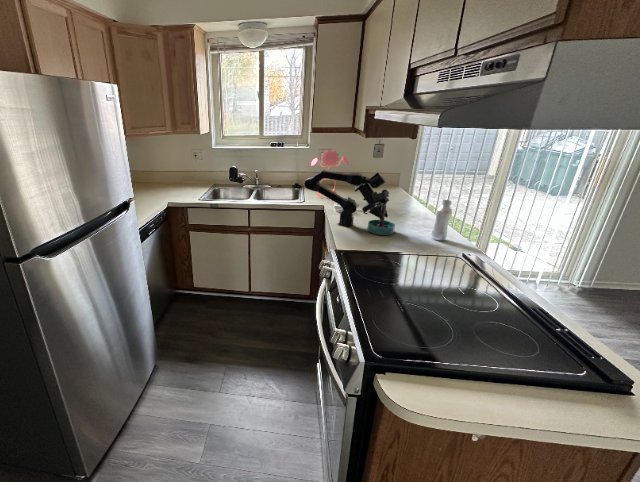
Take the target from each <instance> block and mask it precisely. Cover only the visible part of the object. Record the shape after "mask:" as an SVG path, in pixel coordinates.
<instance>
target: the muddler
mask: <svg viewBox="0 0 640 482" xmlns="http://www.w3.org/2000/svg"><path fill="white" fill-rule="evenodd" d="M386 211H387V204H386V205H382V208H381V214H382V216H383V218H384V219H380V218H379V220H380V221H379V224H378V225H377V227H383V228H384V227H385V226H384V225H383V224H384V220H385V218H386V217H385V212H386Z"/></svg>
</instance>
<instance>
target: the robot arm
mask: <svg viewBox="0 0 640 482" xmlns="http://www.w3.org/2000/svg"><path fill="white" fill-rule="evenodd" d="M324 179H325V180H328V179H330V180H331V179H332V180H331V181H333V180H334V181H338V182H345V183H347V184H350V185H352V186H355V189H354V192H355V193H358V192H359V193H360V194H361V196H362V197H363V198H362V200H363V201H365V202H366V205H364V206H363V207H361V208H362V209H361V211H362V212H363V213H364V214H365V213H369V214H371V215H373V216H375V217H377V218H378V219H379V220H380V219H384V220H385V218H386V219H387V218H388V217H389V215H388V211H387V210H386V212H385V218H383V216H382V214H381V208H382V205H386V206H387V204H388V202H390V198H389V197H390V195H389V194H390V191H389V190H387V189H383V190H381V192H377V191H374V190H373V189H378V188H379V187H381V186H382V185H384V184H385V183H386V180H385V178H384V177H383V175H381V173H379V172H378V171H376V172H375V173H374V174H373V175H371V176H370V177H368V176H364V175H363V174H362V173H360V172H355V173H354V172H353V173H344V172H338V171H337V172H335V171H329V170H325V169H321V171H319V172H318V173H317V174H315V175H314V176H310V177H307V179H305V181H304V187H305V188H306V189H307V190H309V191H312V192H316V193H317V192H319V193H321V194H322V195H321V196H324V197H326V198H327V199H329V200H330V201H331V202H334V203H336V204H337V205H339V207H341V211H340V214H339V222H338V223H337V224H338V225H339V226H343V227H347V228H349V227H351V226H352V225H354V220H355V219H354V213H356V212H357V208H358V203H357V201H355V199H353V198H351V197H350V196H348V197H347V198H345V197H343V196H341V195H339V194H338V193H337V192H336V193H337V194H336V193H334V192H333V191H332V190H331V189H329V188H327V187H325V186H324V185H322V183H321V180H324Z"/></svg>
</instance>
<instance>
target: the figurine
mask: <svg viewBox="0 0 640 482" xmlns="http://www.w3.org/2000/svg"><path fill="white" fill-rule="evenodd" d="M339 156H340V155H339V153H337V151H336V149H333V150H330V149H328V150H327V151H326V150H324V151H323V155H322V156H321V158H320V159H321V161H319V159H318V157H315V158H314V159H312V161H311V163H310V164H311V165H310V166H311V167H314V166H315V165H316V164H317V162H318V164H319V165H320V167H321V168H324V167H325V168H327V167H328V168H327V170H329V169H330V168H333V167H339V166H340V164H341V162H343V163H344V164H346V165H347V166H349V165H350V163H349V162H350V161H349V159H348V158H347V157H346V156H343V155H342V157H341V159H340V157H339ZM338 161H339V162H338ZM322 164H324V165H322ZM325 180H326V178H323V179H321V180H320V182H322V181H325ZM327 180H328V181H330V180H331V181H334V184H336V181H337V180H332V179H327ZM335 188H336V185H334V187H333V189H332V190H331V191H333V192H334V193H336V194H338V193H337V191H336V190H335ZM316 196H317V198H320V197H321V196H323V195H322V194H321V193H319V192H316ZM322 201H325V199H324V200H323V199H322Z"/></svg>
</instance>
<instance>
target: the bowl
mask: <svg viewBox="0 0 640 482" xmlns="http://www.w3.org/2000/svg"><path fill="white" fill-rule="evenodd" d="M379 221H380V219H371V220H369V221H368V223H367V228H366V229H367V231H368V232H369V233H372V234H374V235H378V236H390V235H392V234H394V233H395V227H396V225H395V223H394V222H392V221H389V220H385V219H384V224H383V225H384V226H385V227H384V228H383V227H377V225H378V224H379Z"/></svg>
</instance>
